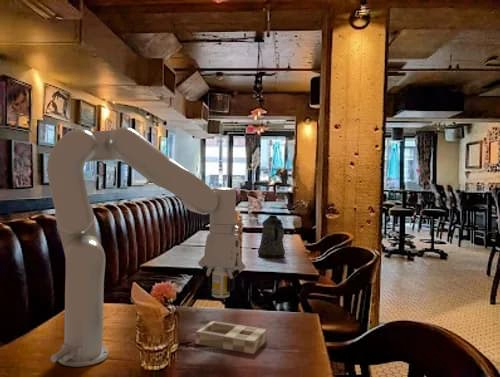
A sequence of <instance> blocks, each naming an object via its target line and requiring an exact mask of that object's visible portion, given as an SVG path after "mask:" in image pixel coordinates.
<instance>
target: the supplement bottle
mask: <svg viewBox="0 0 500 377" xmlns="http://www.w3.org/2000/svg"><path fill="white" fill-rule="evenodd" d="M228 278H229V275H228V271H227V269H225V268H221V267H215V270H214V271H213V273H212V289H211V296H212V297H214V298H215V299H217V298H218V299H224V298H229V297H230V295H231V294H230V293H231V292H227V279H228Z"/></svg>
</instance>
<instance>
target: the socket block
mask: <svg viewBox="0 0 500 377" xmlns="http://www.w3.org/2000/svg"><path fill="white" fill-rule="evenodd" d="M267 332H268V330H267V329H266V328H260V327H255V326H248V325H242V324H235V323H230V322H224V321H223V322H222V321H216V320H212V321H210V322H208V323H207V324H206V325H204V326H202V327H201V328H200V329H198V330H196V331H195V344H196V345H202V346H207V347H211V348H212V347H213V348H219V349H224V350H229V351H235V352H240V353H246V354H251V355H254V354H255V353H256V352H257V351H258V350H259V349H260V348H261V347H262V346H264V344H265V343H266V342H267V336H268V333H267Z"/></svg>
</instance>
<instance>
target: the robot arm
mask: <svg viewBox="0 0 500 377" xmlns="http://www.w3.org/2000/svg"><path fill="white" fill-rule="evenodd" d="M113 160H121V161H122V162H124V163H125V164H126V165H127V166H129V168H131V169H133V170H134V171H136V172H137V173H138V174H139V175H141V176H142V177H144V178H145V179H146V180H147V181H148V182H150V183H152V184H154V185H155V186H157V187H159V188H162V189H164V190H166V191H168V192H170V193H172V194H173V195H175V196H176V197H178V198H179V199H180V200H181V201H182V204H183V206H184V208H185V209H186V210H189V211H190V212H193V213H196V214H199V215H209V232H208V233H207V236H206V240H205V243H204V244H205V247H204V254H203V256H202V257H201V259H200V260H199V261H198V263H197V264H198V265H199V266H200V268H201V269H202V271H203V272H205V275H206V277H207V286H208V291H209V290H210V291H212V273H213V271H214V270H216V269H215V267H221V268H225V269H227V271H228V275H229V278H228V279H227V292H230V293H231V292H233V291H234V290H235V282H236V281H235V280H236V279H235V278H236V277H237V276H238V275H239V274H240V273H241V272H242V271H244V270H245V269H246V265H245V263H244V262H243V260H241V251H240V250H241V248H240V241H239V240H240V239H239V235H238V234H237V233H236V232H239V231H240V226H237V225H236V209H237V208H236V207H237V206H236V205H237V204H236V203H237V192H236V190H235V188H232V187H210V185H207V183H205V182H204V181H203V180H201V179H200V178H199V176H197V175H195V174H194V173H192V172H191V171H189V170H188V169H187V168H184V167H183V166H182V165H181V164H179V163H178V162H177V161H175V160H174V159H172V158H170V157H169V156H168V155H166V154H165V153H164V152H162V151H161V150H160V149H158V147H156V146H155V145H154V144H153V143H152V142H150V141H149V140H148V139H147V138H145V137H144V136H142V134H140V133H139V132H137V131H136V130H135V129H134V128H131V127H128V126H121V127H119V128H116V129H110V130H98V131H97V130H96V131H95V130H93V131H91V130H90V131H89V130H87V129H85V128H74V129H72V130H69V131H68V132H67V133H65V134H64V135H62V137H61V138H59V139H58V140H57V141H56V143H55V144H54V145H53V147H52V148H51V151H50V153H49V155H48V158H47V163H46V172H47V179H48V185H49V189H50V193H51V198H52V199H51V200H52V203H53V207H54V218H55V221H56V225H57V229H58V233H59V236H60V240H61V245H62V248H63V253H64V257H65V279H64V280H65V283H64V284H65V286H64V290H65V291H64V341H63V342H64V343H63V344H61V349H59V351H57V352H55V353H53V354H51V355H50V361H51V362H52V363H56V362H58V363H60V364H61V365H64V366H65V367H72V368H73V367H79V368H80V367H87V366H92V365H96V364H98V363H99V364H100V363H101V362H103V361H105V360H106V359H107V358H108V357H109V349H108V348H107V347H106V346H104V344H103V341H104V339H103V338H104V336H103V335H104V293H105V292H104V288H105V286H104V285H105V283H104V282H105V271H106V253H105V251H104V250H105V249H104V248H103V246H102V245H101V243H100V240H99V237H98V234H97V233H98V232H97V229H96V225H95V221H94V217H95V216H94V215H95V213H94V210H93V207H92V205H91V202H90V198H89V195H88V190H87V186H86V185H87V184H86V180H85V176H84V167H85V164H86V163H88V162H90V163H91V162H102V161H113ZM236 267H238V268H236Z"/></svg>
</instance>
